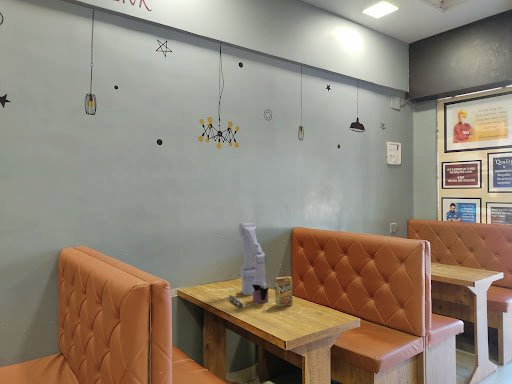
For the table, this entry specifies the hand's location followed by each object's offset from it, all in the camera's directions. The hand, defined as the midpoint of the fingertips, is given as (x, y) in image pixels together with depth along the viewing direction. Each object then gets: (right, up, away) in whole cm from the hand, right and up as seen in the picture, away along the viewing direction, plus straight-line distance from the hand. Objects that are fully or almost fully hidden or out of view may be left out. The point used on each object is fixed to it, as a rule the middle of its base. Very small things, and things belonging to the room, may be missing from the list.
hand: (260, 298), depth 208 cm
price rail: (-14, -2, -3) cm, 14 cm away
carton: (0, -2, 0) cm, 2 cm away
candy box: (+13, -2, -7) cm, 15 cm away
